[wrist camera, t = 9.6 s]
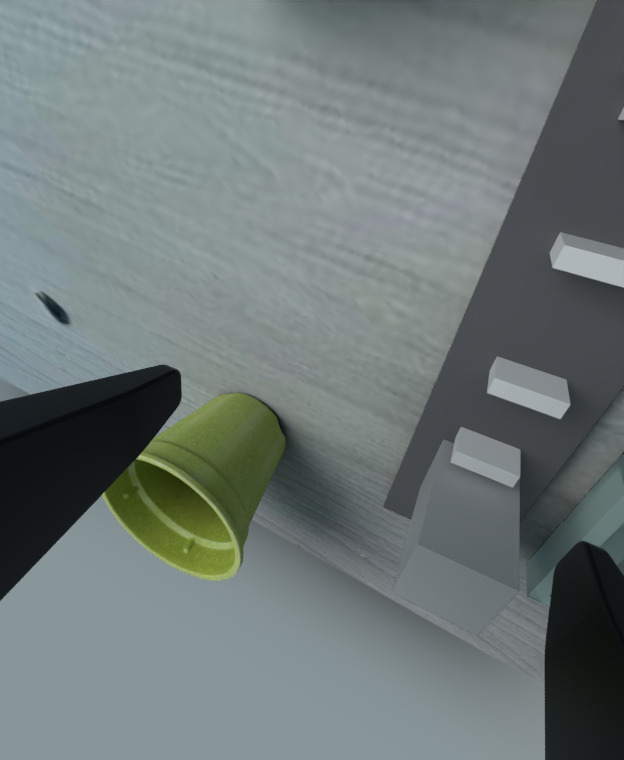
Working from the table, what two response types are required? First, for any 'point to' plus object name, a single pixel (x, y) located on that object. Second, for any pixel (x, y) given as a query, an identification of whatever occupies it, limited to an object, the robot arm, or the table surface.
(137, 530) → the plant pot
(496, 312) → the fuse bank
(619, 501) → the tray
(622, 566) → the block
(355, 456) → the table surface
